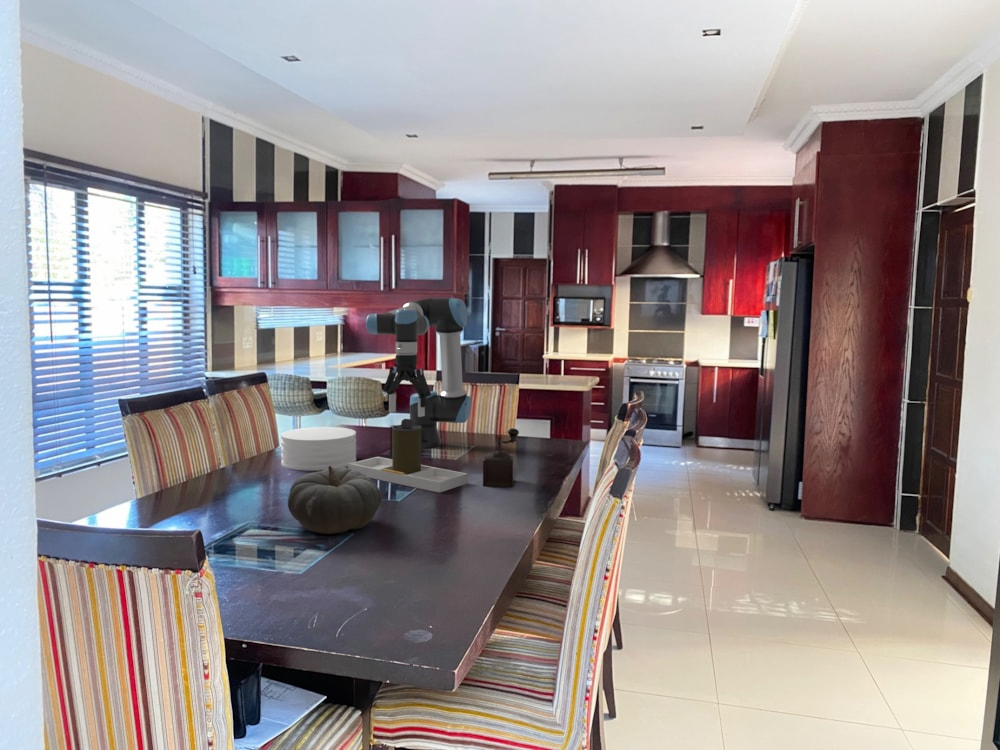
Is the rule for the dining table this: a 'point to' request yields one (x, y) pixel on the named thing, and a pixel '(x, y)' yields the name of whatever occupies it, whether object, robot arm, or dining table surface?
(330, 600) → the dining table surface
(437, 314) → the robot arm
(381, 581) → the dining table surface
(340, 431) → the plate stack
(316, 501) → the gourd
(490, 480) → the pepper mill
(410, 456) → the canister
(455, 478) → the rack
